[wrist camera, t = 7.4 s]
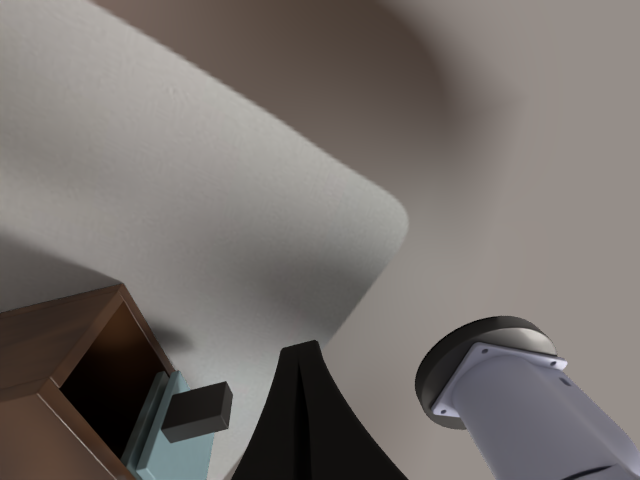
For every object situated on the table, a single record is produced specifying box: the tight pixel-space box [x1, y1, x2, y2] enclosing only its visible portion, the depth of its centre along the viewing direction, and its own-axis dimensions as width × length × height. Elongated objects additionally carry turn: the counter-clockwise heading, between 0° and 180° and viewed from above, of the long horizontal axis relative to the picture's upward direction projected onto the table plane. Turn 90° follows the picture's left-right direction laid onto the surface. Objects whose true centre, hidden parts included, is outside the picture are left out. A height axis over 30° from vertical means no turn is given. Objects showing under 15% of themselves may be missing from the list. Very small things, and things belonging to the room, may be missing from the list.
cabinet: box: [0, 284, 175, 480], centre depth 19 cm, size 10×14×8 cm
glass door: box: [136, 371, 233, 480], centre depth 21 cm, size 4×7×6 cm, turn 12°
